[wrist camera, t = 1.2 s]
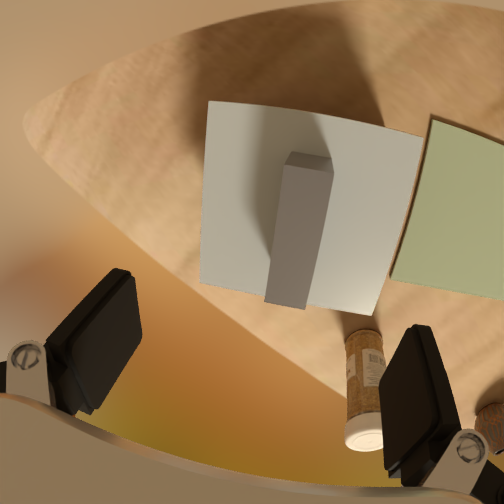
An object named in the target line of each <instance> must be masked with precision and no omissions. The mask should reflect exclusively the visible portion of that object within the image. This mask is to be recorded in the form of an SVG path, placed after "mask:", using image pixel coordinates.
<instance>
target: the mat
mask: <svg viewBox="0 0 504 504" xmlns="http://www.w3.org/2000/svg"><path fill="white" fill-rule="evenodd" d="M390 280H395V281H400V282H405V283H411V284H416V285H421V286H427V287H432V288H437V289H443V290H448V291H453V292H459V293H464V294H470V295H475V296H480V297H486V298H491V299H497V300H502V301H504V146H503V145H501V144H498V143H496V142H494V141H491V140H489V139H486V138H484V137H481V136H479V135H476V134H473V133H471V132H468V131H465V130H463V129H460V128H457V127H454V126H451V125H448V124H445V123H442V122H439V121H436V120H433V119H432V121H431V126H430V132H429V137H428V142H427V147H426V152H425V156H424V161H423V165H422V169H421V174H420V178H419V182H418V186H417V190H416V194H415V198H414V201H413V205H412V209H411V212H410V216H409V219H408V223H407V226H406V229H405V233H404V236H403V239H402V242H401V246H400V249H399V252H398V255H397V258H396V261H395V264H394V267H393V270H392V273H391V275H390Z"/></svg>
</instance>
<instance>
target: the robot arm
mask: <svg viewBox="0 0 504 504" xmlns="http://www.w3.org/2000/svg"><path fill="white" fill-rule="evenodd" d="M141 339H142V328H141V322H140V315H139V307H138V301H137V292H136V283H135V278H134V277H133V276H131V273H130V272H129V271H126V270H122V269H118V268H114V269H112V270H111V271H110V272H109V273H108V274H107V275H106V276H105V277H104V278H103V279H102V280H101V281H100V282H99V283H98V284H97V285H96V286H95V287H94V288H93V289H92V290H91V292H90V293H89V294H88V295H87V296H86V297H85V298H84V299H83V300H82V301H81V302H80V303H79V304H78V305H77V306H76V307H75V309H73V310H72V312H71V313H70V314H69V315H68V316H67V317H66V318H65V319H64V320H63V321H62V323H61V324H60V325H59V326H58V327H57V328H56V329H55V330H54V331H53V332H52V334H51V335H50V336H49V337H48V338H47V339H46V343H45V344H44V345H43V346H42V344H40V343H39V342H37V341H33V340H30V341H23V342H20V343H19V344H17V345H15V346H14V347H13V348H12V349H11V351H10V352H9V354H8V357H7V361H4V362H0V504H504V473H503V472H502V471H501V470H500V469H499V468H497V467H496V466H495V465H494V464H492V463H491V462H490V461H489V460H487V458H488V454H489V447H488V444H487V441H486V440H485V438H484V437H483V436H482V435H481V434H480V433H479V432H477V431H475V430H473V429H463V430H462V428H461V424H460V420H459V416H458V412H457V408H456V405H455V401H454V397H453V394H452V390H451V387H450V383H449V380H448V377H447V373H446V370H445V368H444V365H443V362H442V359H441V356H440V353H439V350H438V347H437V344H436V341H435V338H434V335H433V332H432V330H431V328H430V326H425V325H418V324H414V325H413V326H412V327H411V328H407V330H406V331H405V333H404V335H403V337H402V339H401V341H400V343H399V345H398V347H397V349H396V351H395V353H394V355H393V357H392V359H391V361H390V363H389V364H388V366H387V368H386V370H385V372H384V374H383V375H382V377H381V379H380V382H379V386H378V390H379V400H380V411H381V423H382V436H383V453H384V468H385V470H388V473H389V478H401V484H402V486H401V487H357V486H337V485H336V486H335V485H323V484H312V483H303V482H294V481H287V480H280V479H273V478H267V477H262V476H256V475H250V474H245V473H240V472H235V471H231V470H226V469H222V468H218V467H214V466H210V465H206V464H202V463H198V462H194V461H191V460H187V459H184V458H181V457H177V456H174V455H171V454H167V453H164V452H161V451H158V450H155V449H152V448H149V447H146V446H143V445H141V444H138V443H135V442H133V441H130V440H127V439H125V438H122V437H120V436H117V435H115V434H112V433H110V432H107V431H105V430H103V429H100V428H98V427H96V426H93V425H91V424H88V423H86V422H84V421H82V420H80V419H77V418H76V417H75V414H76V413H77V411H78V410H80V411H82V412H85V413H86V414H89V415H91V414H92V412H93V411H94V409H98V408H99V407H100V406H101V405H102V403H103V401H104V400H105V398H106V396H107V395H108V393H109V391H110V390H111V388H112V387H113V385H114V383H115V382H116V380H117V378H118V377H119V375H120V374H121V372H122V370H123V369H124V367H125V366H126V364H127V362H128V361H129V359H130V357H131V356H132V355H133V353H134V351H135V349H136V348H137V346H138V345H139V344H140V342H141Z"/></svg>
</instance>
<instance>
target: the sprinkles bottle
mask: <svg viewBox="0 0 504 504" xmlns="http://www.w3.org/2000/svg"><path fill="white" fill-rule="evenodd" d="M382 346H383V340H382V337H381V336H380V335H379V334H378V333H377V332H375V331H372V330H359V331H356V332H354V333H353V334H351V335H350V337H349V338H348V339H347V341H346V343H345V350H346V357H347V363H346V376H347V401H348V402H347V403H348V404H347V405H348V407H347V411H348V413H347V424H346V425H345V444H346V445H347V446H348V447H349V448H350V449H353V450H356V451H373V450H378V449H381V448H383V436H382V423H381V411H380V400H379V390H378V386H379V382H380V379H381V377H382V375H383V374H384V372H385V370H386V362H385V357H384V353H383V347H382Z"/></svg>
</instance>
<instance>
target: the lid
mask: <svg viewBox="0 0 504 504" xmlns="http://www.w3.org/2000/svg"><path fill="white" fill-rule="evenodd" d="M423 139H424V138H422V137H420V136H417V135H413V134H410V133H406V132H403V131H399V130H395V129H391V128H387V127H383V126H379V125H375V124H370V123H366V122H361V121H357V120H352V119H347V118H342V117H337V116H332V115H327V114H321V113H315V112H309V111H303V110H296V109H290V108H282V107H275V106H267V105H258V104H248V103H238V102H226V101H209V103H208V115H207V128H206V142H205V157H204V174H203V193H202V215H201V243H200V283H203V284H208V285H212V286H217V287H222V288H226V289H231V290H236V291H241V292H246V293H250V294H255V295H260V296H265V300H264V302H267V303H272V304H277V305H282V306H287V307H292V308H298V309H303V310H305V307H306V304H307V305H312V306H318V307H323V308H329V309H334V310H340V311H346V312H352V313H358V314H363V315H369V316H372V313H373V311H374V308H375V305H376V303H377V300H378V297H379V295H380V292H381V289H382V286H383V284H384V281H385V278H386V275H387V272H388V269H389V266H390V263H391V260H392V257H393V254H394V251H395V248H396V245H397V241H398V238H399V235H400V232H401V228H402V225H403V221H404V218H405V214H406V211H407V207H408V203H409V200H410V196H411V192H412V188H413V184H414V180H415V176H416V171H417V167H418V163H419V158H420V154H421V149H422V144H423Z"/></svg>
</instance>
